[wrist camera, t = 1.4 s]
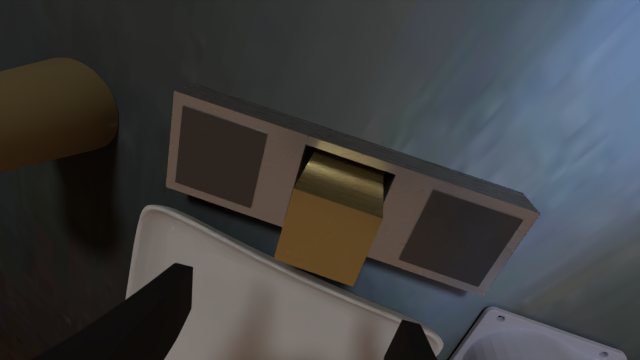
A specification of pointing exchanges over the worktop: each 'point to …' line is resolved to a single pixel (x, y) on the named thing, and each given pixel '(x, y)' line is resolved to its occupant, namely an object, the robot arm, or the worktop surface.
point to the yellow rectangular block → (332, 217)
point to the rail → (404, 170)
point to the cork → (53, 112)
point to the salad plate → (257, 299)
